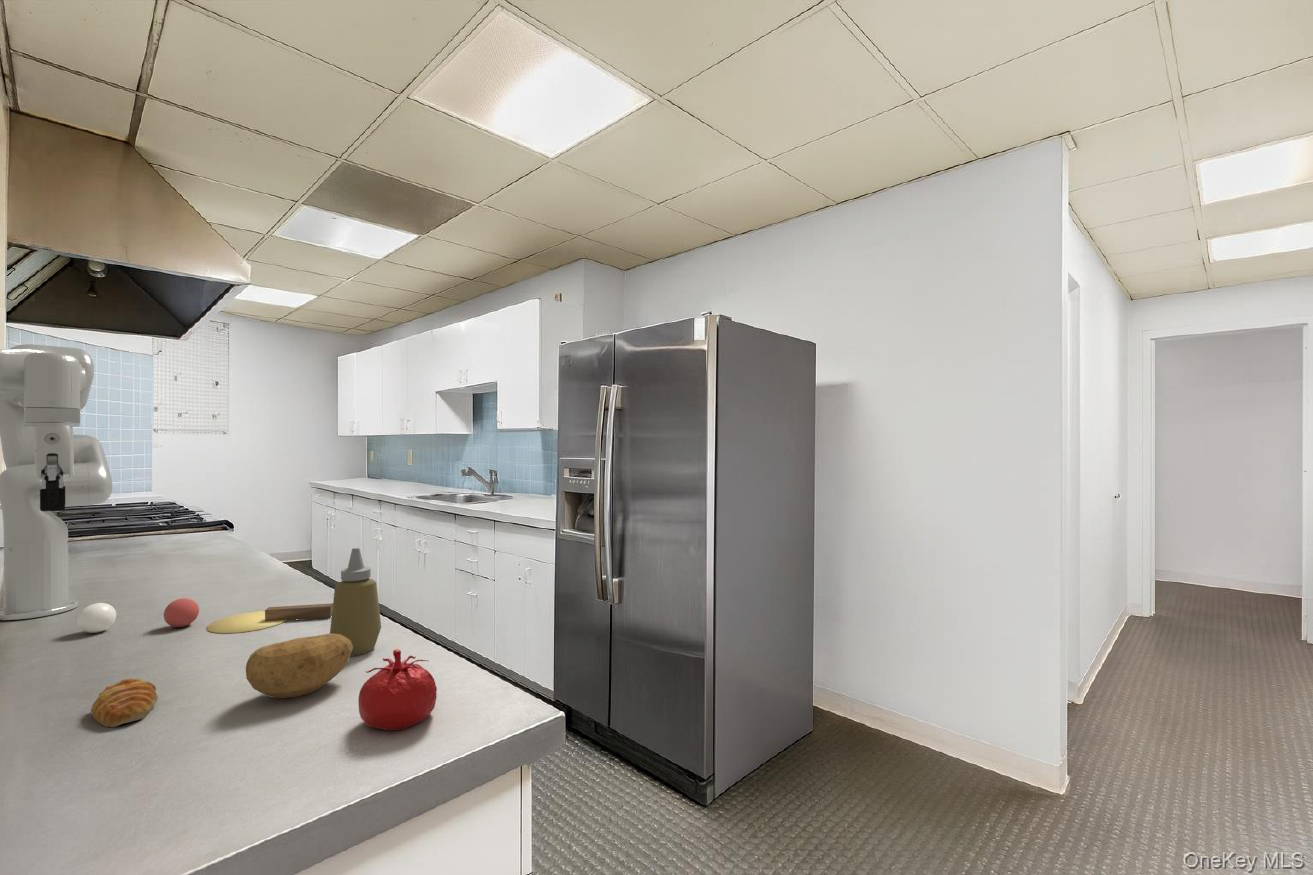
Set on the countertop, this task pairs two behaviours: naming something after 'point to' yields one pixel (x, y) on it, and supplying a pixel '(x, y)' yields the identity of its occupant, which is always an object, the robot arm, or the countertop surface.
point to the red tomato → (397, 695)
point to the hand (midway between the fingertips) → (53, 508)
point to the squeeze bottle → (356, 606)
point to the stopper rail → (299, 612)
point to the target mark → (242, 623)
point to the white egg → (96, 617)
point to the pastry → (124, 702)
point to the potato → (297, 665)
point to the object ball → (181, 612)
